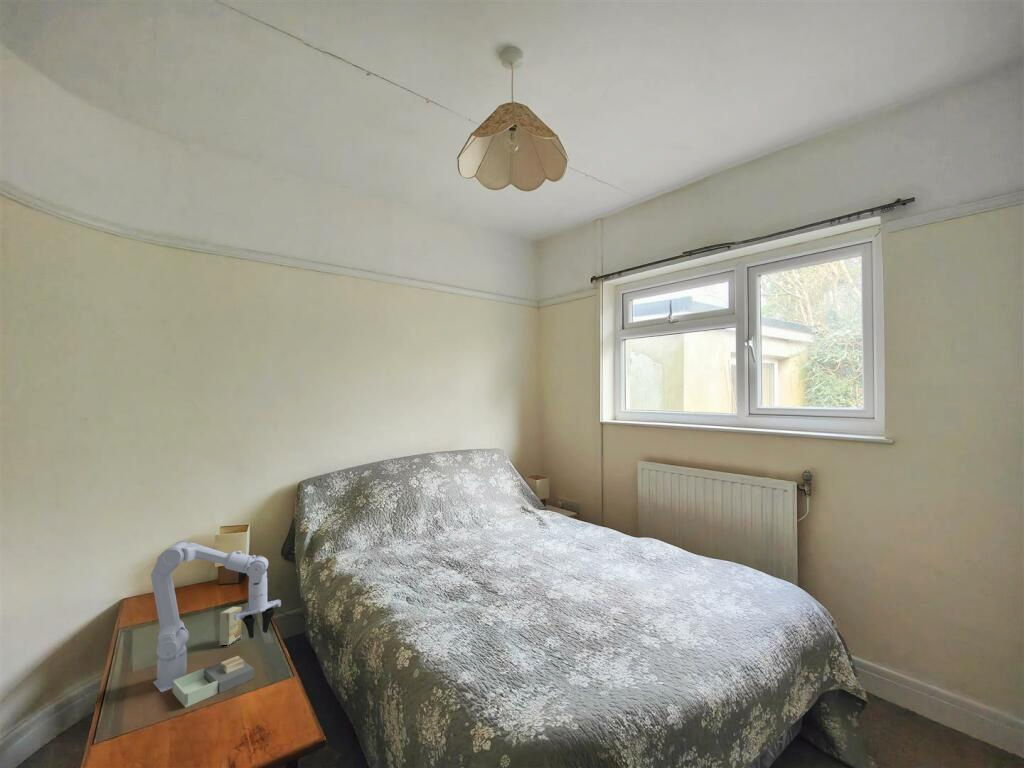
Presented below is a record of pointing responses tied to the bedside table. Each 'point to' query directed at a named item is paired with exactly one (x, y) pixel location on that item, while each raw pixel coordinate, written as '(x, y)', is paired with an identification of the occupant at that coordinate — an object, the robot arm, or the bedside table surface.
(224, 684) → the plate
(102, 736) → the bedside table surface
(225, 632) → the skincare box
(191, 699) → the tray
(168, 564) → the robot arm
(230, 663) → the birch block
